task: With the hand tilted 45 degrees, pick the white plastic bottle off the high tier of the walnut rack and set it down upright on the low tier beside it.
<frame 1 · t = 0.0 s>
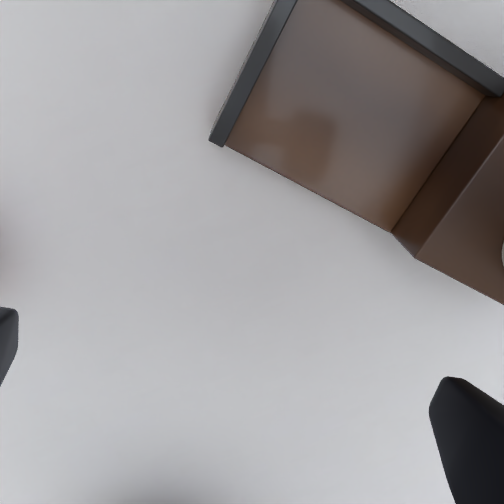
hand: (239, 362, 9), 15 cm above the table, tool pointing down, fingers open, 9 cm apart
rack: (422, 153, 23), on the table
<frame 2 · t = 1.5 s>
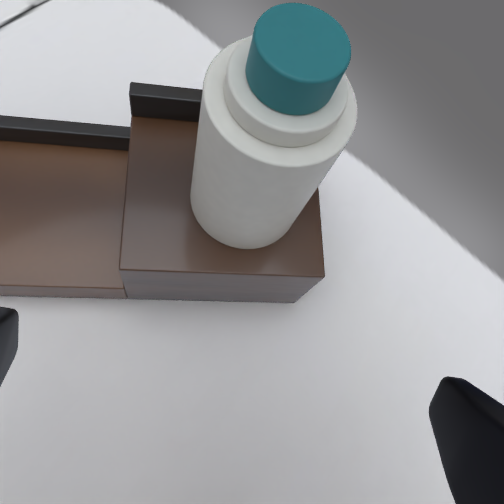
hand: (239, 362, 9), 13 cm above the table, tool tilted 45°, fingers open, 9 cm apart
bottle: (244, 199, 20), point 5 cm above the table, touching rack
rack: (133, 225, 24), on the table
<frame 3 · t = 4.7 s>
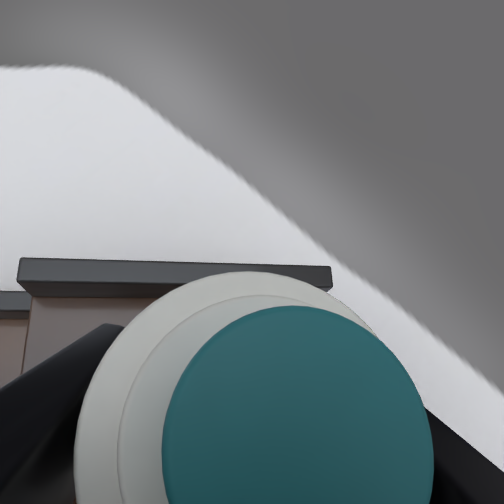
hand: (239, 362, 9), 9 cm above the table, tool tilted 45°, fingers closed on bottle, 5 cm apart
bottle: (209, 430, 12), point 5 cm above the table, touching gripper, rack
rack: (54, 420, 16), on the table
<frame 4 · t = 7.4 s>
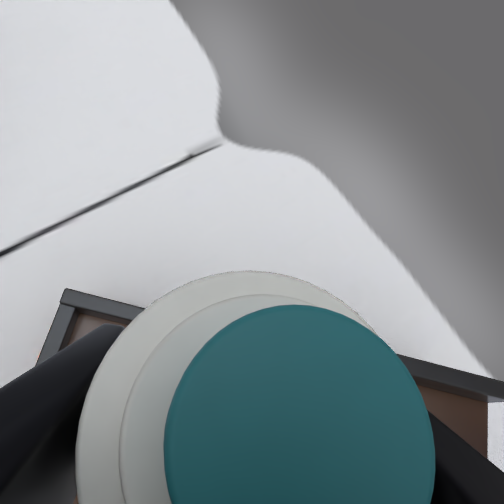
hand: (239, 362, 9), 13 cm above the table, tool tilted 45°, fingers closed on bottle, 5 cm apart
bottle: (209, 430, 12), point 9 cm above the table, touching gripper
rack: (254, 436, 21), on the table
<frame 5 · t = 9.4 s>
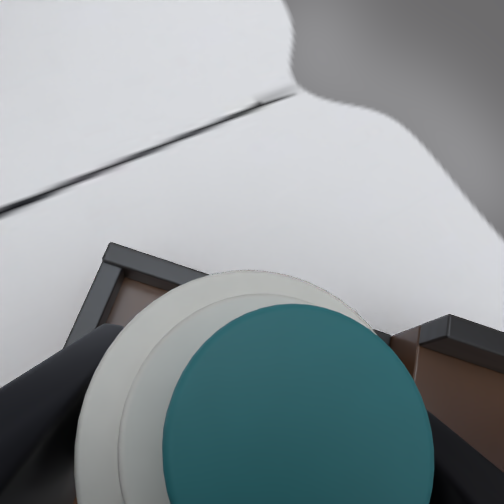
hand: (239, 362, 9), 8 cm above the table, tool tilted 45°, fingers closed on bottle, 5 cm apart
bottle: (209, 429, 12), point 4 cm above the table, touching gripper
rack: (335, 452, 17), on the table
when the fingers open (6 cm above the table, at t = 10.5 s): bottle stays where it is, resting on rack.
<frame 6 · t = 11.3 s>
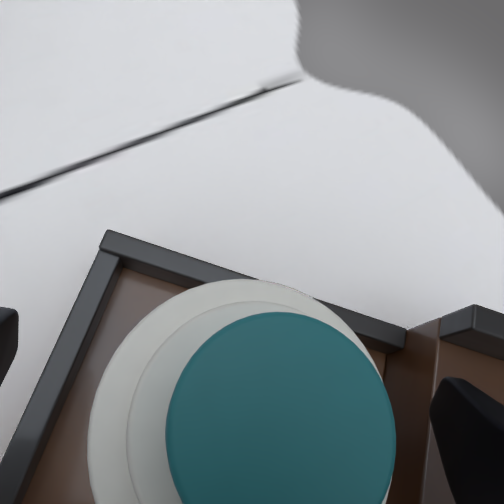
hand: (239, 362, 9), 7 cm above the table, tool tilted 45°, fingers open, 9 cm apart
bottle: (207, 425, 13), point 2 cm above the table, touching rack
rack: (347, 454, 16), on the table
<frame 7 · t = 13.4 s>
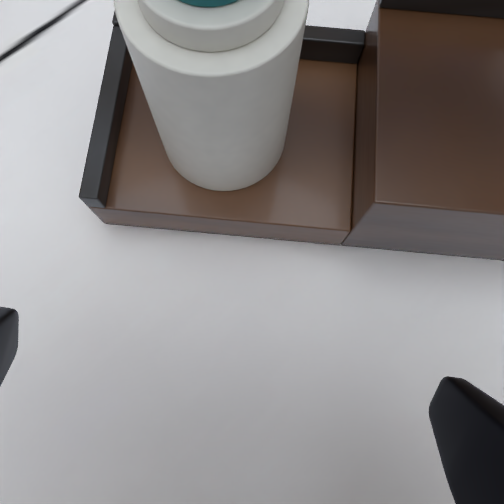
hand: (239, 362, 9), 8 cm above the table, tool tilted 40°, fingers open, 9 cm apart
bottle: (224, 135, 18), point 2 cm above the table, touching rack
rack: (344, 158, 20), on the table
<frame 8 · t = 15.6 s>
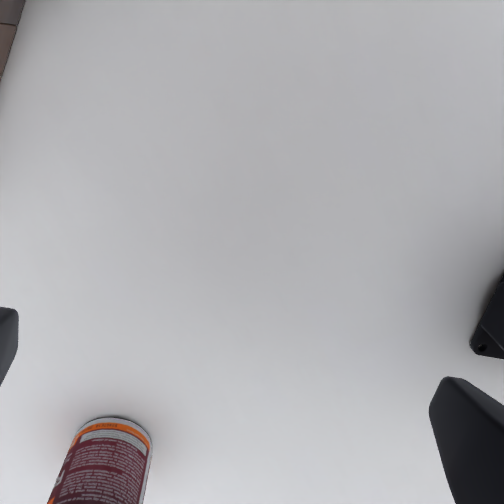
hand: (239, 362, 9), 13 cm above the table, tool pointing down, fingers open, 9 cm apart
pill bottle: (114, 442, 27), on the table
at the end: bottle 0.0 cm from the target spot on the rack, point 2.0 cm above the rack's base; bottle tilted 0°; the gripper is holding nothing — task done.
